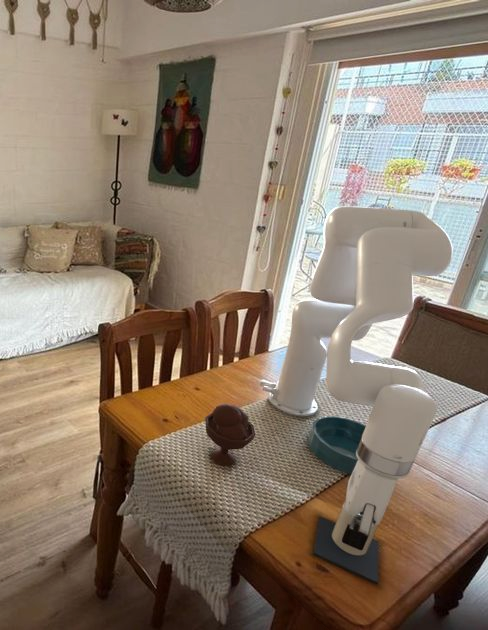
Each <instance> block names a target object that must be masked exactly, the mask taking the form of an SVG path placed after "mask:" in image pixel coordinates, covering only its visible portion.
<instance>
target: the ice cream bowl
mask: <svg viewBox="0 0 488 630" xmlns="http://www.w3.org/2000/svg"><path fill="white" fill-rule="evenodd" d="M204 420H205V432H206V435H207V437H208V438H209V439H210V440H211V441H212V442H213V443H214V444H215V445H216V446H217V447H219V448H215V449H213V451H211V453H210V458H211V460H212V461H213V462H214V463H215V464H216V465H218V466H221V467H232V466H233V465H234V464H236V462H235V461H236V460H235V456H234V455H233V453H231V451H232V450H233V451H234V450H235V451H237V450H241V449H244V448H245V447H246V446H248V445H249V444H250V443H251V442H252V441H253V440H254V439H255V437H256V430H255V426H254V424H253V423H252V422H250V421H249V415H248V414H247V413H246V412H245V411H244V410H243V409H241V408H240V407H239V406H236V405H233V404H229V403H221V404H219V405H217V406H216V407H215V408H214V409H213V411H212V412H211V413H210V414H208V415H206V416H205V418H204Z"/></svg>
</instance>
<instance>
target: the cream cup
mask: <svg viewBox="0 0 488 630" xmlns="http://www.w3.org/2000/svg"><path fill="white" fill-rule="evenodd" d="M345 506H346V500H345V501H344V502H343V503H342V506H341V509H340V511H339V514H338V516H337V519H336V521H335V523H336V524H335V527H334V529H333V532H332V538H333V540H334V542H335V543H336V544H337V545H338V546H339V547H340V548H341V549H343V550H344V551H346V552H348V553H350V554H353V555H364V554H365V553H366V552H367V550H368V548H369V546H370V543H371V541H372V539H374V536H375V534H376V532H377V529H378V527H379V525H380V523H379V524H378V525H374V524H373V523H372V526H371V530H370V533H369V536H368V539H367V541H366V543H365V546H364V548H363V550H358V549H356V548H354V547H351V546H349V545H347V544H345V543H343V542H342V537H343V535H344V532H345V530H346V527H347V525H348V524H349V525H350V523H351V520H352V517H353V516H351V515H348V514H347V512H346V510H345ZM360 513H361V514H363V512H360ZM360 522H361V519H359V518H357V520H356V523H355V524H360Z"/></svg>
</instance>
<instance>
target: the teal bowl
mask: <svg viewBox="0 0 488 630" xmlns="http://www.w3.org/2000/svg"><path fill="white" fill-rule="evenodd" d="M366 425H367V424H364V423H362V422H359V421H357V420H353V419H350V418H347V417H341V416H336V415H334V416H333V415H332V416H331V415H329V416H321V417H318V418H317V419H315V420H314V421H313V422H312V425H311V429H310V432H309V435H308V439H307V443H308V446H309V449H310V450H311V452H312V453H313V454H314V455H315V456H316V457H317V458H318V459H319V460H320V461H322V463H325V464H326V465H328V466H330V467H331V468H333V469H334V470H337V471H340V472H342V473H345V474H348V475H351V474H352V472H353V470H354V468H355V466H356V463H357V461H358V458H357V456H356V451H357V448H358V446H359V443H360V440H361V438H362V435H363V432H364V430H365V427H366Z"/></svg>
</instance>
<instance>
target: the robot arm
mask: <svg viewBox="0 0 488 630" xmlns="http://www.w3.org/2000/svg"><path fill="white" fill-rule="evenodd" d="M452 259H453V244H452V241H451V238H450V236H449V235H448V233H447V232H446V231H445V230H444V229H443V227H442V226H440V225H439V224H437V223H436V222H435V221H434V220H433V219H431V217H430V216H428V215H427V214H425V213H424V212H420V211H417V210H411V209H410V210H409V209H397V208H385V207H384V208H383V207H372V206H356V205H355V206H354V205H340V206H336V207H334V208H333V209H331V210H330V211H329V212H328V213H327V216H326V218H325V220H324V224H323V248H322V251H321V253H320V256H319V259H318V262H317V264H316V267H315V270H314V272H313V275H312V278H311V281H310V284H309V293H310V295H311V296H312V297H313V298H306V299H302V300H300V301H298V302H296V304H295V305H294V307H293V310H292V315H291V326H290V334H289V335H290V336H289V340H288V344H287V348H286V351H285V354H284V355H285V356H284V359H283V363H282V366H281V371H280V375H279V377H278V380H277V382H270V381H267V380H265V379H261V380H260V382H259V383H260V384H259V386H260V387H262V391H264V392H267V393H268V397H267V399H268V401H269V402H270V404H271V405H273V406H274V407H275V408H276V409H278V410H279V411H282V412H284V413H287V414H289V415H292V416H298V417H309V416H313V415H315V414H316V413H317V412H318V409H319V407H318V403H317V402H316V401H315V396H316V394H317V390H318V387H319V383H320V380H321V377H322V373H323V370H324V368H325V364H326V370H325V371H326V375H325V377H326V386H327V390H328V392H329V394H330V395H331V396H332V397H333V398H334V399H335V400H337V401H340V402H343V403H348V404H354V405H361V406H367V407H368V406H369V407H372V409H371V412H370V413H369V417H368V420H367V422H366V424H365V425H366V427H365V430H364V432H363V435H362V438H361V440H360V443H359V446H358V448H357V451H356V456H357V458H358V461H357V463H356V466H355V468H354V470H353V472H352V474H350V477H349V479H348V482H347V488H346V494H345V501H346V506H345V510H346V512H347V514H348V515H351V516H353V517H352V520H351V523H350V525H349V524H348V525H347V527H346V530H345V532H344V535H343V537H342V542H343V543H345V544H347V545H349V546H351V547H354V548H356V549H358V550H363V548H364V546H365V543H366V541H367V539H368V536H369V533H370V530H371V526H372V523H373V524H374V525H378V524H379V525H380V523H381V521H382V519H383V518H384V515H385V513H386V510H387V508H388V506H389V503H390V501H391V498H392V495H393V493H394V491H395V489H396V485H397V482H398V480H399V479H404V478H405V479H406V478H407V477H408V476H409V474H410V472H411V470H412V467H413V465H414V463H415V461H416V458H417V456H418V454H419V452H420V450H421V448H422V445H423V443H424V440H425V438H426V436H427V434H428V432H429V431H430V430H429V429H430V427H431V426H432V423H433V421H434V419H435V417H436V414H437V410H438V407H437V403H436V401H435V400H434V399H433V397H431V396H430V395H429V394H428V393H427V391H426V387H425V384H424V381H423V379H422V377H421V375H420V374H419V373H418V372H416V371H415V370H413V369H411V368H408V367H402V366H395V365H388V364H385V363H384V364H383V363H377V362H368V361H361V360H354V359H352V358H351V351H352V342H353V341H355V342H356V341H360V340H362V339H364V338H365V337H366V336H367V335H368V333H369V331H370V329H371V327H372V326H373V324H377V323H382V322H387V321H392V320H397V319H399V318H403V317H405V316H407V315H409V314H410V313H411V312H412V311H413V309H414V276H423V277H437V276H440V275H441V274H443V273H445V272H446V270H448V269H449V267H450V264H451V262H452ZM324 338H326V339H329V342H328V346H327V347H326V346H325V344H324V342H323V341H322V339H324ZM360 512H363V514H361V513H360ZM357 518H359V519H361V522H360V524H355V523H356V520H357ZM379 525H378V526H379Z"/></svg>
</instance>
